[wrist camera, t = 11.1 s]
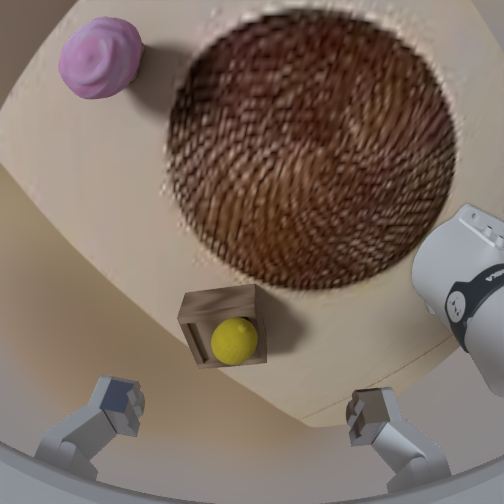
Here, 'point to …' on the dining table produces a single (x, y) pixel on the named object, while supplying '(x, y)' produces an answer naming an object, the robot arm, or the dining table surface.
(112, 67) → the cupcake
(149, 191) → the dining table surface
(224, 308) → the walnut tray
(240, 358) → the lemon
